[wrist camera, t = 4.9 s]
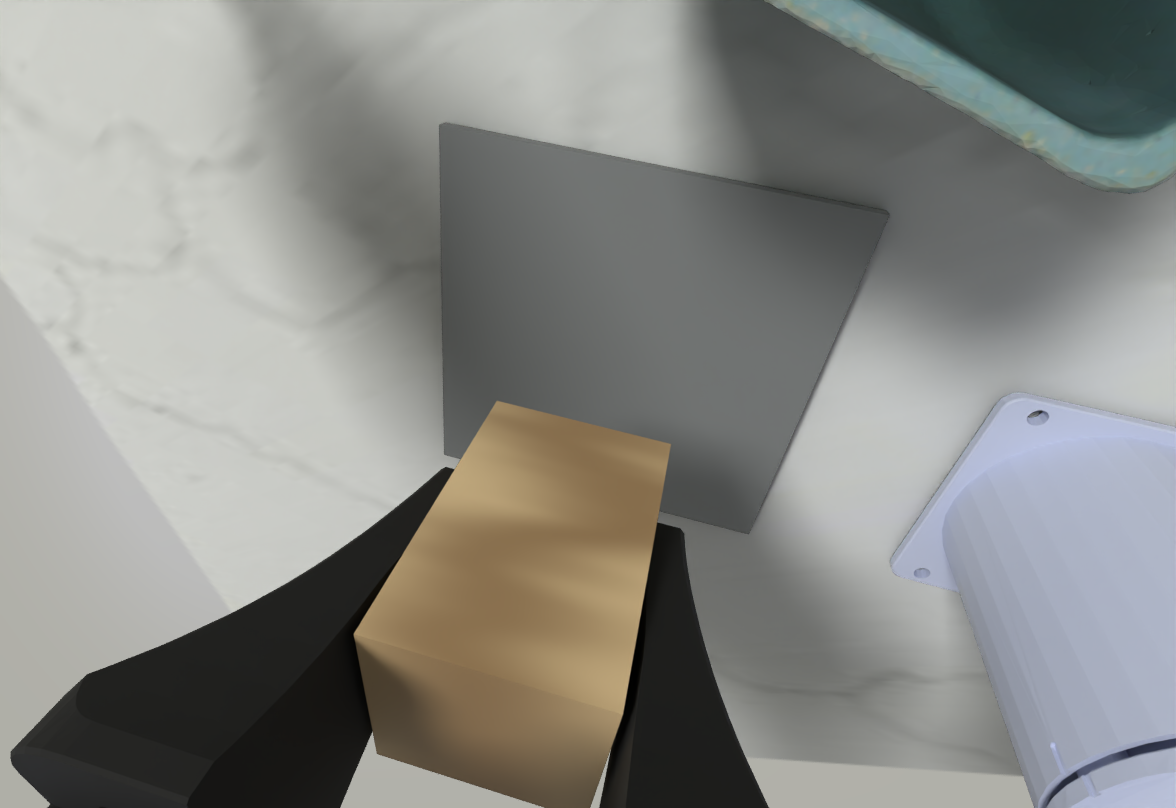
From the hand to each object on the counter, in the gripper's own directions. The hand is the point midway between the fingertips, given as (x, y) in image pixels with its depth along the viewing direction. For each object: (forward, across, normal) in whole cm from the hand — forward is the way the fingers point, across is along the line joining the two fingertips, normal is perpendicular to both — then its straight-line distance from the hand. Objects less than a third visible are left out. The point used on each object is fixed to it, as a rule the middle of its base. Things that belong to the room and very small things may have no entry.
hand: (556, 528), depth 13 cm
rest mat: (+8, 0, 0) cm, 8 cm away
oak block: (+2, 0, 0) cm, 2 cm away
